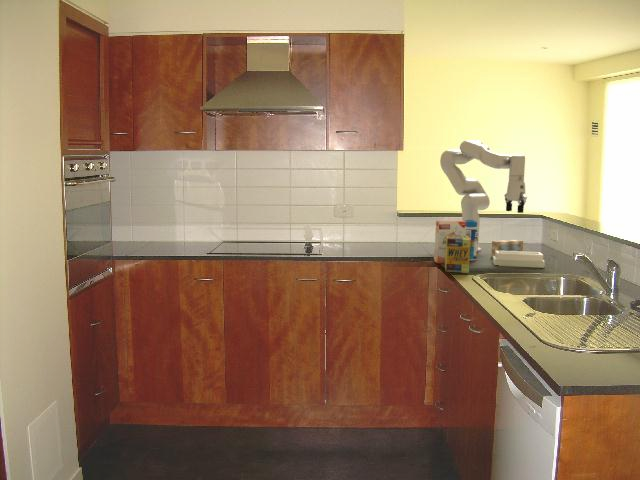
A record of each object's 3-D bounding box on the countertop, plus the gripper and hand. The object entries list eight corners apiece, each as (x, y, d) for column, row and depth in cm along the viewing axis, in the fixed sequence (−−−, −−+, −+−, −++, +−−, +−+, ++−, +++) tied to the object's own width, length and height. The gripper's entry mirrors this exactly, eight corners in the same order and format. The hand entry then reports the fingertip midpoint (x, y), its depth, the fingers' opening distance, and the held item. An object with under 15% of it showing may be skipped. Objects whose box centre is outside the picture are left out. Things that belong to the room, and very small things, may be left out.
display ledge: (494, 265, 295) (495, 253, 294) (492, 262, 304) (493, 250, 303) (544, 267, 290) (545, 255, 289) (540, 264, 300) (541, 252, 299)
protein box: (445, 272, 277) (447, 238, 275) (444, 266, 292) (445, 234, 290) (469, 273, 275) (470, 239, 273) (467, 267, 290) (468, 235, 288)
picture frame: (495, 259, 314) (496, 241, 313) (491, 257, 318) (491, 240, 317) (522, 258, 318) (523, 241, 317) (517, 256, 323) (518, 239, 321)
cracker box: (437, 263, 298) (438, 221, 295) (433, 261, 304) (435, 220, 301) (465, 263, 299) (466, 221, 296) (460, 261, 305) (462, 220, 302)
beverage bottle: (457, 258, 314) (458, 220, 311) (470, 257, 317) (472, 219, 314) (466, 261, 306) (468, 221, 303) (480, 260, 309) (482, 221, 306)
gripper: (533, 179, 307) (531, 213, 310) (512, 178, 323) (510, 210, 326) (520, 179, 305) (518, 213, 307) (500, 178, 321) (498, 210, 323)
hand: (514, 211), depth 316 cm, fingers open, 9 cm apart
